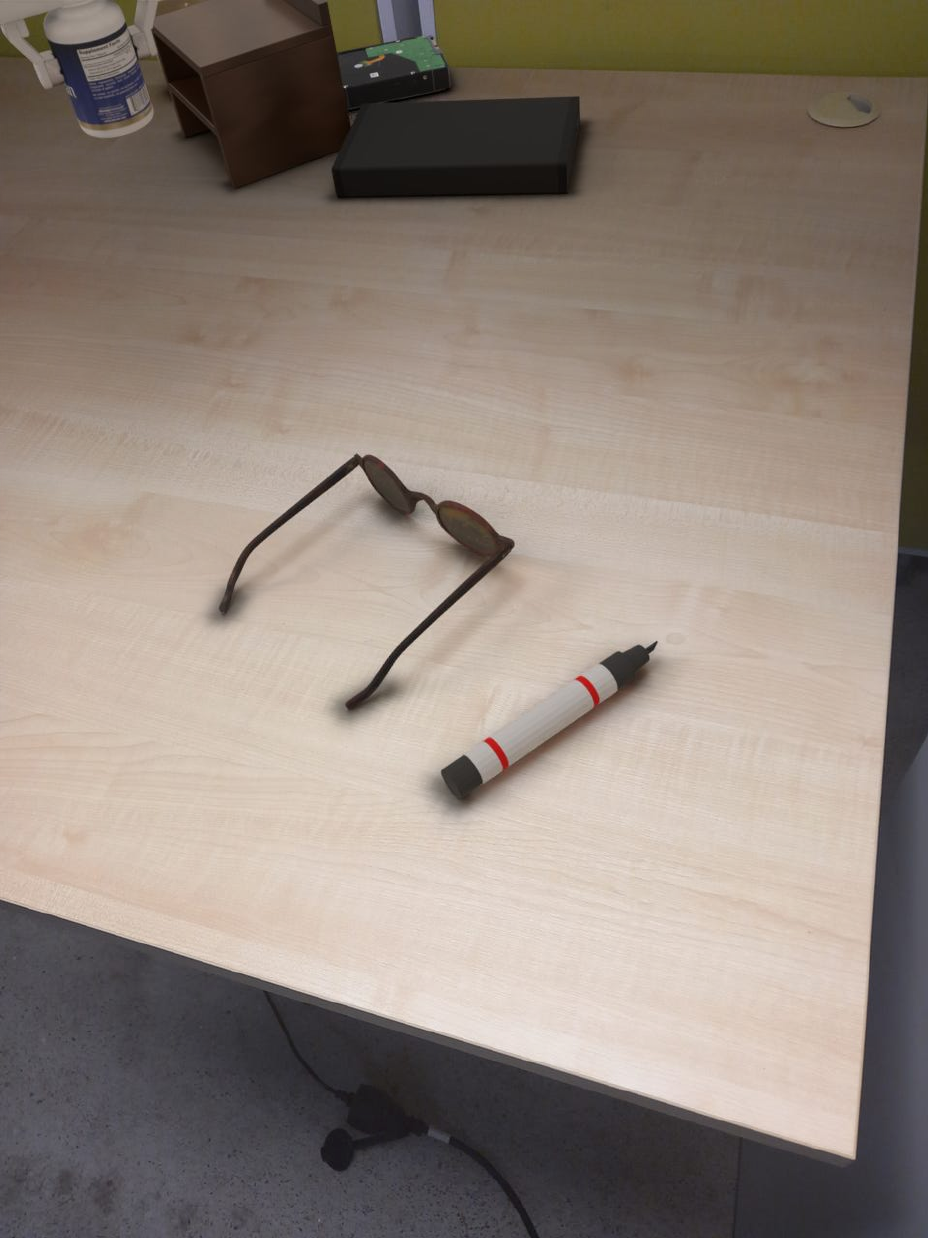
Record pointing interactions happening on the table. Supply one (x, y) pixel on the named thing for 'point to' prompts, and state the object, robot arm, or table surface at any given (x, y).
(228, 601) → the eyeglasses
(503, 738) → the marker
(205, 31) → the rack
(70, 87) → the pill bottle
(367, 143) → the external hard drive
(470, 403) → the table surface
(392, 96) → the disk drive
